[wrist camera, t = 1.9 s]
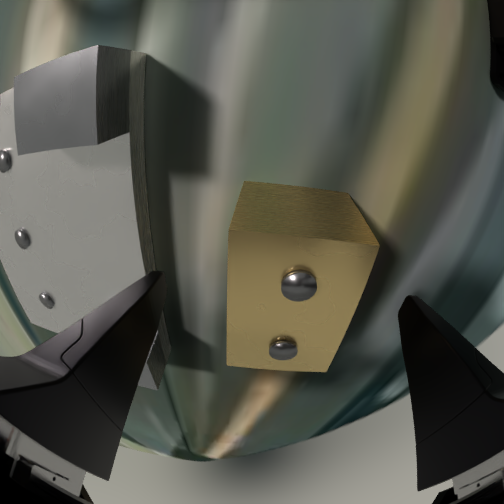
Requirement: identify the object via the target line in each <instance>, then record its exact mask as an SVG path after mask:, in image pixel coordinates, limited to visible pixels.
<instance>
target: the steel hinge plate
mask: <svg viewBox="0 0 504 504" xmlns="http://www.w3.org/2000/svg"><path fill="white" fill-rule="evenodd" d="M145 64H146V53H142V52H137V51H132V50H127V49H121V48H115V47H109V46H102V45H97V46H93V47H90V48H86V49H83V50H80V51H77V52H74V53H71V54H68V55H65V56H62V57H59V58H57V59H54V60H52V61H49V62H47V63H44V64H42V65H39V66H37V67H35V68H33V69H30V70H28V71H26V72H24V73H22V74H20V75H18V76H16V77H14V88H12V89H10V90H8V91H6V92H4V93H2V94H0V259H1V262H2V264H3V267H4V269H5V271H6V274H7V276H8V278H9V280H10V282H11V285H12V287H13V289H14V291H15V293H16V295H17V297H18V299H19V301H20V303H21V305H22V307H23V309H24V310H25V312H26V314H27V316H28V318H29V319H30V321H31V323H33V324H35V325H38V326H40V327H43V328H46V329H48V330H51V331H53V332H56V333H60V332H62V331H64V330H65V329H67V328H68V327H70V326H71V325H73V324H74V323H76V322H77V321H78V320H80V319H83V317H84V316H86V315H87V314H89V313H90V312H91V311H93V310H94V309H96V308H97V307H99V306H100V305H102V304H103V303H105V302H106V301H107V300H109V299H110V298H112V297H113V296H115V295H116V294H118V293H119V292H121V291H122V290H124V289H125V288H127V287H128V286H130V285H131V284H133V283H134V282H136V281H137V280H139V279H141V278H142V277H144V276H145V275H147V274H148V273H150V272H151V271H156V266H155V259H154V252H153V244H152V236H151V228H150V219H149V209H148V198H147V185H146V169H145V147H144V84H145ZM170 351H171V345H170V340H169V336H168V331H167V326H166V322H165V317H164V312H163V311H162V315H161V318H160V322H159V326H158V330H157V333H156V336H155V339H154V341H153V344H152V346H151V349H150V352H149V355H148V357H147V360H146V363H145V366H144V368H143V371H142V374H141V377H140V380H139V382H138V386H142V387H146V388H150V389H154V390H158V388H159V385H160V382H161V379H162V376H163V373H164V370H165V366H166V363H167V360H168V357H169V354H170Z"/></svg>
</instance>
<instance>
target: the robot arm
mask: <svg viewBox="0 0 504 504" xmlns="http://www.w3.org/2000/svg"><path fill="white" fill-rule="evenodd" d="M487 1H488V9H489V20H490V36H491V67H490V74H491V79H492V81H493V83H494V84H495V85H496V86H497V87H499V88H500V89H501V90H503V91H504V0H487ZM499 75H500V77H499ZM500 78H501V79H500ZM166 296H167V286H166V280H165V274H164V273H163V272H161V271H151V272H150V273H148V274H147V275H145V276H144V277H142V278H141V279H139V280H137V281H136V282H134V283H133V284H131V285H130V286H128V287H127V288H125V289H124V290H122V291H121V292H119V293H118V294H116V295H115V296H113V297H112V298H110V299H109V300H107V301H106V302H105V303H103V304H102V305H100V306H99V307H97V308H96V309H94V310H93V311H91V312H90V313H89V314H87V315H86V316H84V317H83V319H80V320H78V321H77V322H76V323H74V324H73V325H71V326H70V327H68V328H67V329H65V330H64V331H62V332H60V333H59V334H57V335H56V336H54V337H52V338H51V339H49V340H47V341H46V342H44V343H42V344H41V345H39V346H37V347H35V348H34V349H32V350H30V351H29V352H27V353H25V354H23V355H20V356H15V357H2V356H0V504H94V503H93V502H92V500H91V498H90V497H89V495H88V493H87V491H86V489H85V488H84V486H83V480H84V477H85V474H86V472H88V473H91V474H93V475H95V476H97V477H100V478H102V479H104V480H107V481H109V478H110V474H111V471H112V467H113V463H114V460H115V456H116V452H117V449H118V446H119V442H120V439H121V435H122V431H123V428H124V425H125V422H126V419H127V416H128V412H129V409H130V406H131V403H132V400H133V397H134V394H135V391H136V388H137V385H138V382H139V380H140V377H141V374H142V371H143V368H144V366H145V363H146V360H147V357H148V355H149V352H150V349H151V346H152V344H153V341H154V339H155V336H156V333H157V330H158V326H159V322H160V318H161V315H162V311H163V307H164V303H165V300H166ZM398 320H399V328H400V335H401V344H402V351H403V356H404V361H405V367H406V372H407V378H408V383H409V390H410V396H411V403H412V411H413V419H414V426H415V427H414V428H415V439H416V455H417V489H418V491H421V490H424V489H427V488H429V487H432V486H435V485H437V484H440V483H442V482H445V481H447V480H450V479H452V480H453V487H451V488H449V489H446V490H444V491H442V492H439V493H438V495H437V497H436V499H435V500H434V501H433V503H432V504H504V373H503V372H502V371H500V370H499V369H498V368H497V367H496V366H495V365H494V364H492V363H491V362H490V361H489V360H488V359H487V358H486V357H485V356H484V355H483V354H482V353H480V352H479V351H478V350H477V349H476V348H475V347H474V346H473V345H472V344H471V343H470V342H469V341H468V340H467V339H466V338H464V337H463V336H462V335H461V334H460V333H459V332H458V331H457V330H456V329H455V328H453V327H452V326H451V325H450V324H449V323H448V322H447V321H446V320H444V319H443V318H442V317H441V316H440V315H439V314H438V313H436V312H435V311H434V310H433V309H432V308H431V307H429V306H428V305H427V304H426V303H425V302H423V301H422V300H421V299H420V298H419V297H417V296H412V295H409V296H407V297H406V298H405V300H404V302H403V304H402V306H401V308H400V309H399V312H398Z"/></svg>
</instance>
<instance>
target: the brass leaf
mask: <svg viewBox="0 0 504 504" xmlns="http://www.w3.org/2000/svg"><path fill="white" fill-rule="evenodd" d="M379 247H380V245H379V243H378V241H377V240H376V238H375V236H374V234H373V233H372V231H371V229H370V228H369V226H368V224H367V223H366V221H365V219H364V218H363V216H362V215H361V213H360V211H359V210H358V208H357V207H356V205H355V204H354V202H353V200H352V199H351V197H350V196H349V194H348V193H344V192H337V191H330V190H323V189H315V188H308V187H299V186H291V185H282V184H272V183H262V182H251V181H244V183H243V186H242V189H241V192H240V195H239V199H238V202H237V205H236V208H235V211H234V214H233V217H232V221H231V224H230V227H229V237H228V280H227V365H229V366H237V367H247V368H257V369H269V370H284V371H304V372H326V371H327V369H328V368H329V366H330V364H331V362H332V360H333V358H334V356H335V354H336V352H337V350H338V347H339V345H340V343H341V341H342V339H343V337H344V335H345V333H346V330H347V328H348V326H349V324H350V322H351V319H352V317H353V315H354V312H355V310H356V308H357V305H358V303H359V300H360V298H361V296H362V293H363V291H364V288H365V285H366V283H367V280H368V278H369V275H370V272H371V270H372V267H373V264H374V261H375V259H376V256H377V253H378V250H379Z"/></svg>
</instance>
